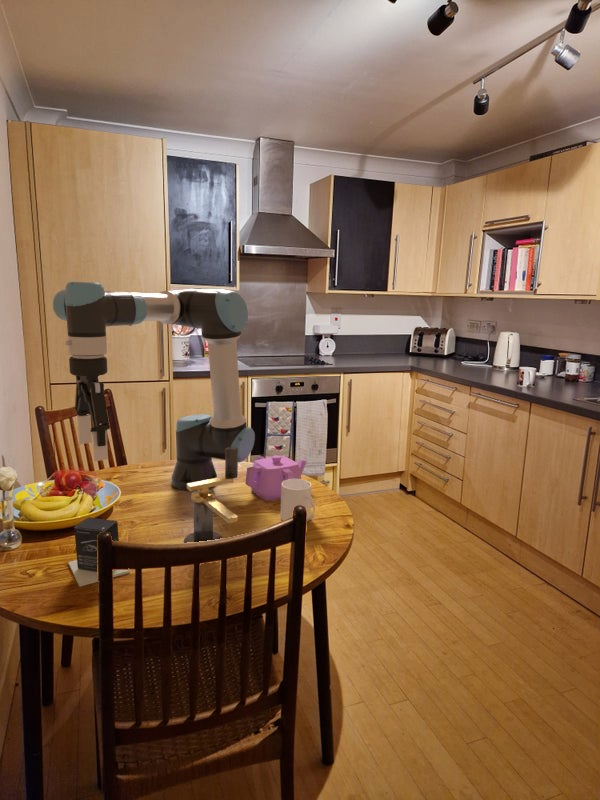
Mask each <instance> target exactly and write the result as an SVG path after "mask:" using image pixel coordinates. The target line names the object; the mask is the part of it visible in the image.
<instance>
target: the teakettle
mask: <svg viewBox="0 0 600 800" xmlns="http://www.w3.org/2000/svg"><path fill="white" fill-rule="evenodd" d="M307 463H308V462H307V460H304V459H300V460H299V462H296V461H294V460H293V459H291V458H289V457H287V456H285V455H271V456H270V457H264V456H258V457H257V459H256V460H254V461H253V464H252V466H251V467H246V474H245V485H246V486H247V487H250V489H251V491H252V493H254V494H255V493H256V494H257V495H256V494H255V495H256V496H258V497H259V498H260V497H261V498H260V499H262V500H263V499H264V500H263V501H265V502H271V501H278V500H281V486H282V482H283V481H285V480H288V479H302V474H303V472H304V469H305V467H306V465H307Z"/></svg>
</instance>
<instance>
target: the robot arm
mask: <svg viewBox="0 0 600 800" xmlns="http://www.w3.org/2000/svg"><path fill="white" fill-rule="evenodd" d="M52 309H53V311H54V313H55V315H56V317H58V318H59V319H60V320H62V321H64V322H65V321H66V327H67V329H66V330H67V339H68V340H65V341H64V342H65V345H66V346H68V354H69V355H70V357H69V358H68V362H69V374H70V375H72V376H74V377H75V381H76V383H75V384H76V385H75V386H76V387H75V398H74V399H75V400H74V410H75V412H76V414H77V431H78V444H79V445H84V444H92V449H93V461H94V462H99V461H106V460H109V451H108V449H109V448H108V447H109V446H108V430H110V429H111V425H110V419H109V415H108V408H107V403H106V397H105V395H106V394H105V384H104V382H100V381H99V376H104V375H106V374H108V358H107V357H106V355H107V354H108V345H107V327H115V326H116V327H119V326H121V327H122V326H129V327H130V326H133V325H138V324H141V323H142V322H160V323H161V324H164V325H175V326H182V327H186V328H187V327H188V328H192V329H200V331H201V338H202V339H203V340H204V341H206V342H207V349H208V350H207V351H208V363H209V373H210V374H209V375H210V377H209V378H210V387H211V400H212V408H213V409H212V411H213V412H212V413H213V416H212V415H211V414H206V413H202V414H199V413H198V414H190V415H187V416H183V417H182V416H181V417H180V418H179V419H178V420H177V421H176V427H175V444H176V448H175V449H176V462H175V466H174V469H173V471H172V474H171V486H172V487H173V488H175V489H178V490H181V491H190V490H188V489H187V484H188V483H193V482H198V481H203V480H208V479H213V478H218V475H217V471H216V468H215V465H214V462H213V459H217V460H223V461H225V449H226V448H228V447H236V448H238V463H242V462H245V460H246V459H247V458H248V457H249V456H250V454H251V452H252V450H253V448H254V445H255V441H256V435H255V434H256V433H255V431H254V430H253V428H252V427H251V426H247V418H246V416H244V415H242V410H241V409H242V405H241V392H240V389H241V388H240V378H239V377H240V375H239V362H238V361H239V359H238V347H237V343H238V342H237V341H238V340H239V339H240V337H241V336H242V331H244V330H245V328H246V327H247V325H248V323H247V322H248V320H249V312H248V310H249V309H248V306H247V303H246V301H245V299H244V297H242V295H241V294H240V293H239V292H237V291H234V290H226V289H211V288H210V289H207V288H205V289H203V288H202V289H200V288H190V289H189V288H188V289H180V290H163V291H160V292H159V293H147V292H133V291H110V290H109V291H108V290H106V291H105V286H104V285H103V283H101V282H93V281H92V282H91V281H68V282H67V283H66V285H65V289H61V290H60V291H58V292H57V293H56V294H55V295H54V296H53V300H52ZM210 488H212V487H208V489H210ZM194 491H197V490H194ZM194 491H193V492H194ZM190 492H191V491H190Z"/></svg>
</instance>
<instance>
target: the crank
mask: <svg viewBox="0 0 600 800" xmlns="http://www.w3.org/2000/svg"><path fill="white" fill-rule="evenodd" d="M224 461H225V464H224V470H225V471H224V473H225V475H224V476H219V477H218V476H217V478H213V479H208V480H203V481H198V482H193V483H188V484H187V489H188V490H187V491H189V490H190V492H192V493H191V495H190V496H191V498H190V499H191V501H192V502H196V503H204V504H205V505H207V506H208V507H209V508H210V509H211V510H213V513H215V514H216V515H217V516H219V517H220V518H221V519H223V520H224V521H225V522H226V523H227V524H232V523H236V522H238V521H239V516H238V515H237V514H236V513H234V512H233V511H232V510H230V509H229V508H228V507H226V506H225V505H224V504H223V503H221V502H220V501H219V500H217V499H216V492H215V491H214V490H210V489H209V488H208V487H211V488H212V487H217V486H221V485H226V484H227V485H228V484H231V483H234V479H238V474H239V473H238V470H239V469H238V467H239V466H238V465H239V462H238V448H236V447H228V448H226V449H225V460H224ZM194 490H196V491H194Z"/></svg>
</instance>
